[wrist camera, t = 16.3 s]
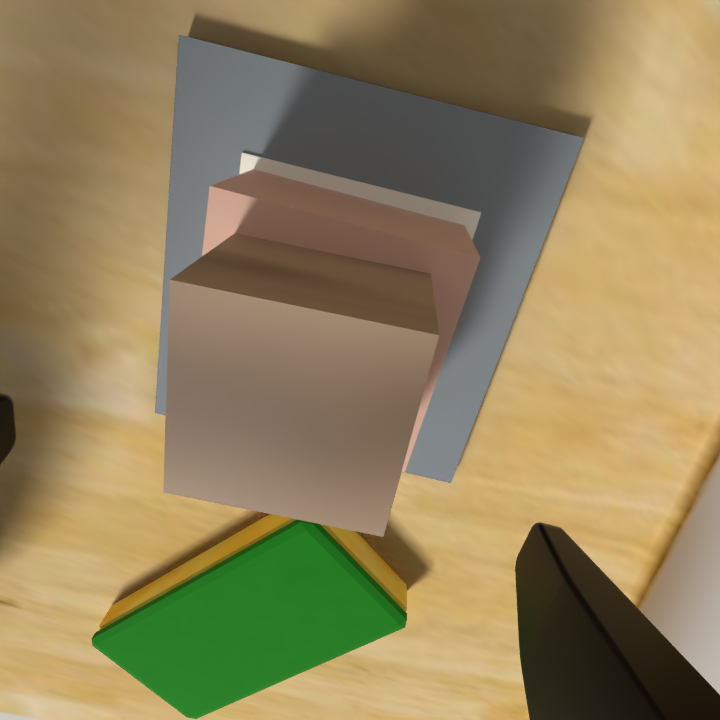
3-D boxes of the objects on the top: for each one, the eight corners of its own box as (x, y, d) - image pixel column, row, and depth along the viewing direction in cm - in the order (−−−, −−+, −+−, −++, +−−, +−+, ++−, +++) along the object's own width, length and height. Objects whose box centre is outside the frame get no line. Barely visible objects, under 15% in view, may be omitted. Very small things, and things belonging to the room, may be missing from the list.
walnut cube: (389, 436, 15) (383, 537, 12) (220, 402, 15) (163, 492, 12) (430, 273, 13) (439, 335, 10) (234, 233, 13) (169, 279, 10)
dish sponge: (410, 582, 25) (411, 627, 23) (206, 677, 29) (190, 723, 27) (316, 481, 23) (306, 520, 21) (111, 600, 27) (85, 643, 25)
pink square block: (405, 405, 19) (404, 472, 16) (225, 359, 19) (184, 417, 16) (464, 225, 16) (480, 257, 13) (253, 169, 16) (209, 185, 13)
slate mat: (449, 473, 21) (450, 484, 21) (161, 404, 21) (153, 414, 21) (578, 137, 16) (585, 138, 15) (186, 37, 16) (177, 33, 15)
